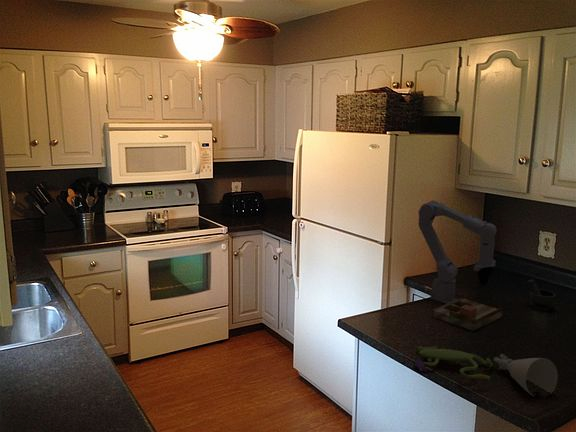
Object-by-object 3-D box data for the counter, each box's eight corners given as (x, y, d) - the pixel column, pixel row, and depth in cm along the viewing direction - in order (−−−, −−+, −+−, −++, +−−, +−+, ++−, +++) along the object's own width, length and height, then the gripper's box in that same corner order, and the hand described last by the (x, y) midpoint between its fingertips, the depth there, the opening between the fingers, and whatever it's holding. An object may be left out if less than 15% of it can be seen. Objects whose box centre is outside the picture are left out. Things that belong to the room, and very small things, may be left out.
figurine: (484, 396, 152) (486, 378, 151) (400, 367, 168) (401, 351, 167) (502, 372, 166) (504, 355, 165) (423, 347, 182) (424, 332, 181)
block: (458, 318, 200) (459, 307, 199) (465, 315, 203) (466, 304, 202) (469, 322, 196) (470, 310, 196) (475, 319, 199) (476, 308, 198)
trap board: (431, 316, 208) (432, 305, 207) (461, 304, 223) (462, 293, 222) (473, 331, 195) (474, 319, 194) (501, 317, 209) (502, 305, 208)
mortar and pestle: (554, 307, 222) (557, 280, 220) (553, 314, 214) (557, 286, 212) (525, 302, 227) (528, 275, 225) (523, 308, 219) (527, 281, 217)
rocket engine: (496, 337, 168) (538, 350, 151) (519, 357, 171) (564, 372, 153) (478, 367, 166) (518, 384, 148) (502, 387, 168) (544, 406, 151)
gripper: (486, 257, 207) (483, 290, 209) (503, 251, 216) (501, 283, 219) (470, 254, 212) (467, 286, 215) (487, 248, 221) (485, 279, 224)
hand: (483, 284), depth 217 cm, fingers closed
